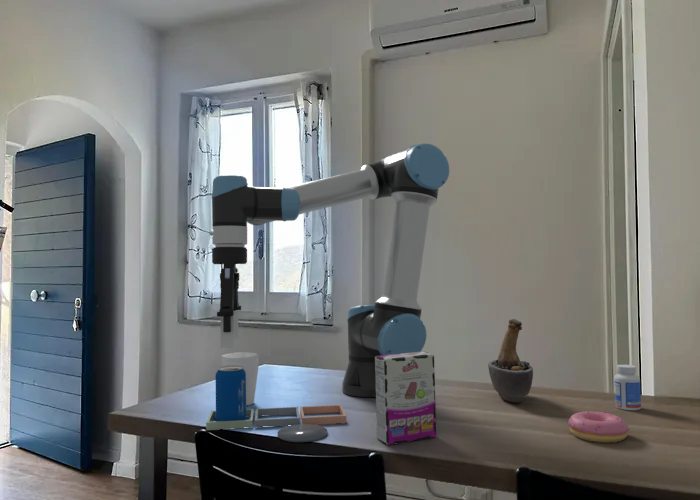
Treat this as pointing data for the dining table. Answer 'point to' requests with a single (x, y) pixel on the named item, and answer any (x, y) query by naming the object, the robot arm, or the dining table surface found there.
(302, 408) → the terracotta corral
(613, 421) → the doughnut
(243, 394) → the beverage can
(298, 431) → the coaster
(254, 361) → the grey tapered cylinder
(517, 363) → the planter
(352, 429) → the dining table surface
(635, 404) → the pill bottle
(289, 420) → the slate-grey corral
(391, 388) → the candy bar box
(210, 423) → the sage corral
